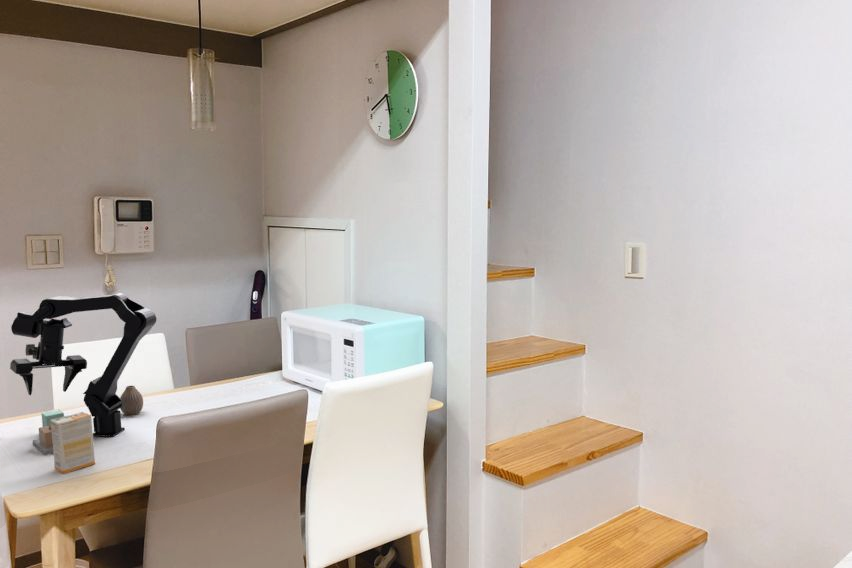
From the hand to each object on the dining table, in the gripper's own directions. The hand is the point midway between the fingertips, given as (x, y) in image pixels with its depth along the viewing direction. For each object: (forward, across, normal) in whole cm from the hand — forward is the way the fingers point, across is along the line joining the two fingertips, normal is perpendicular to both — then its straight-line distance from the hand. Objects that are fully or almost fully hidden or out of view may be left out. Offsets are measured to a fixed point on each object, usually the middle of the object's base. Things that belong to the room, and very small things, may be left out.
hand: (47, 393), depth 200 cm
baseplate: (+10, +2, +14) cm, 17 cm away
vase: (+9, -25, +1) cm, 27 cm away
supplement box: (+8, +4, +34) cm, 35 cm away
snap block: (+12, -2, +2) cm, 12 cm away
